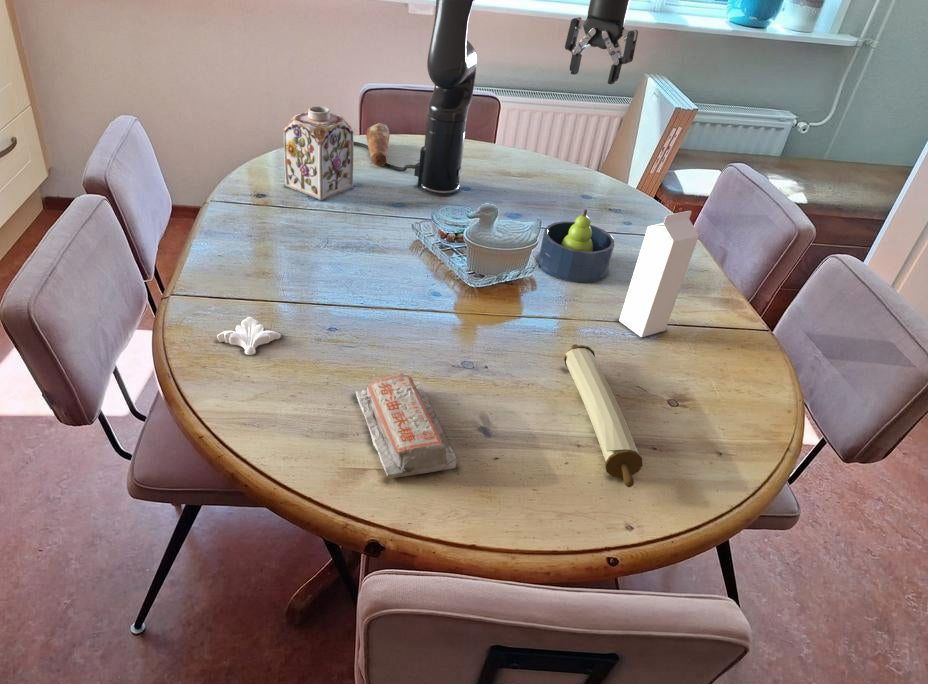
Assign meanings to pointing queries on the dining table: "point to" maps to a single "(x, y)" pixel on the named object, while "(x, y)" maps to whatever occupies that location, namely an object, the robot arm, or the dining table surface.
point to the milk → (659, 274)
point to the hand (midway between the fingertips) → (592, 78)
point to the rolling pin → (604, 414)
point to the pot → (575, 254)
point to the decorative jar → (318, 153)
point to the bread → (378, 143)
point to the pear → (579, 235)
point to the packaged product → (404, 427)
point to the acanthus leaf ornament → (248, 335)
